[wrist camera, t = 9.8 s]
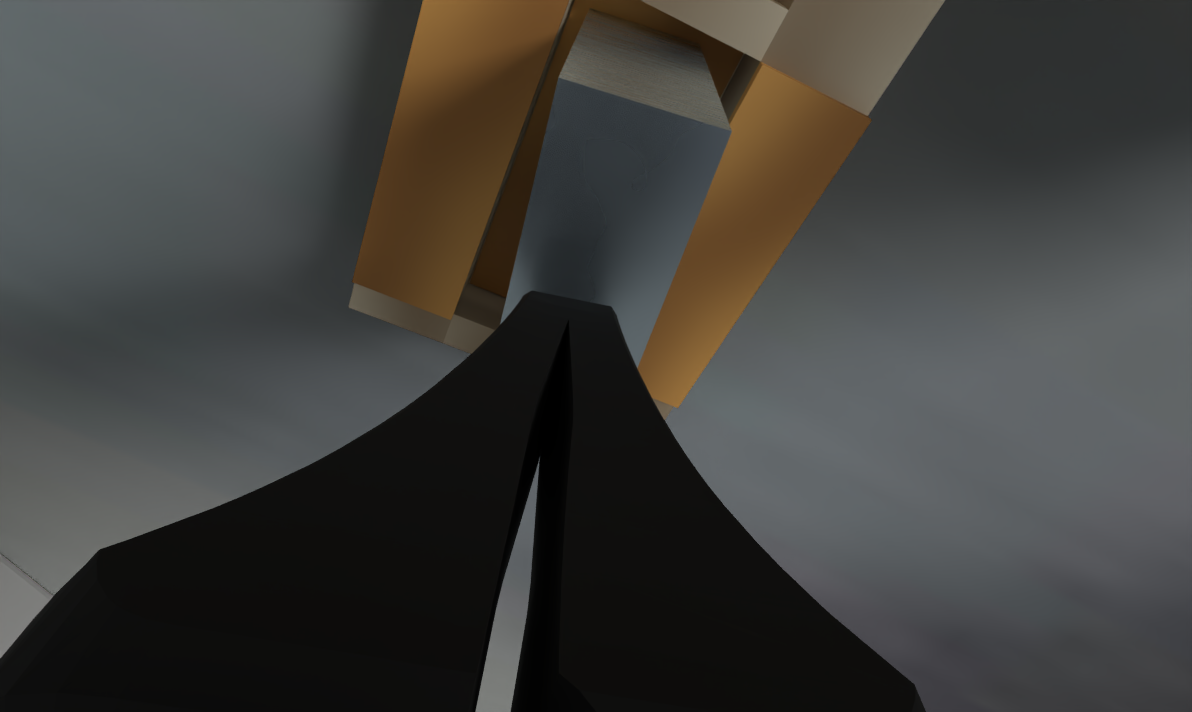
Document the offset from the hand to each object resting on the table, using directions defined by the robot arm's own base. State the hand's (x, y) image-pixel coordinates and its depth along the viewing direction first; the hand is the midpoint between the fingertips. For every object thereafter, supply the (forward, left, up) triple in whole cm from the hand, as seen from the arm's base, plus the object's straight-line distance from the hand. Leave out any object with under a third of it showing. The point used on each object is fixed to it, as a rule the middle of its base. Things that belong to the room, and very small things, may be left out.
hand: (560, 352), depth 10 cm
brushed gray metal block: (0, 0, -8) cm, 8 cm away
